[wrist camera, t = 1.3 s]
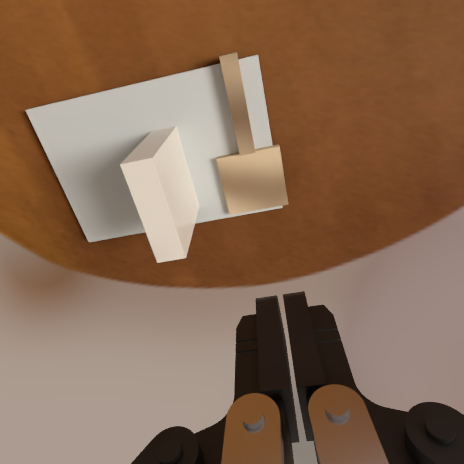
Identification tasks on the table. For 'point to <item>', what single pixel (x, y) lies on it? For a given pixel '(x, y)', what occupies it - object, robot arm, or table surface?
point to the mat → (135, 131)
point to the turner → (248, 155)
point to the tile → (163, 193)
